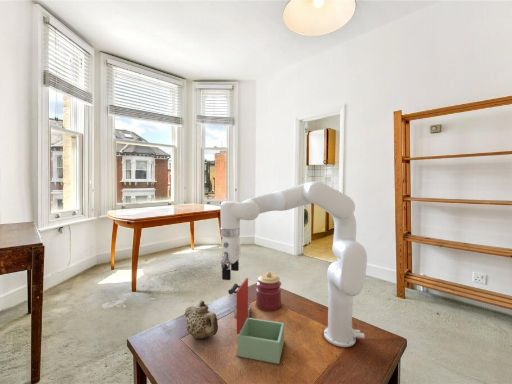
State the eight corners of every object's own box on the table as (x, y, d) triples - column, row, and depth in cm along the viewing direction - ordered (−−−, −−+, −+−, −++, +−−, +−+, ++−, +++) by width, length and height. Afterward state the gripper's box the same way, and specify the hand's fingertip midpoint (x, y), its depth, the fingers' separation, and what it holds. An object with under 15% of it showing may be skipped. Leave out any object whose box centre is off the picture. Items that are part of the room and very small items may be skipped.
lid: (248, 278, 102) (235, 276, 103) (238, 291, 90) (225, 289, 91) (248, 316, 102) (236, 314, 104) (238, 334, 90) (225, 332, 92)
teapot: (176, 331, 105) (175, 297, 105) (198, 320, 114) (198, 288, 113) (205, 355, 91) (205, 316, 90) (228, 341, 99) (229, 305, 98)
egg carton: (249, 319, 115) (249, 310, 115) (233, 318, 116) (233, 310, 115) (250, 307, 126) (250, 299, 126) (236, 307, 126) (236, 299, 126)
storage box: (283, 341, 99) (284, 323, 99) (279, 364, 87) (279, 342, 87) (246, 335, 103) (247, 317, 103) (237, 356, 91) (237, 335, 90)
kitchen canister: (285, 303, 131) (285, 270, 130) (273, 314, 120) (274, 278, 119) (264, 296, 138) (264, 266, 137) (251, 306, 127) (251, 273, 126)
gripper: (231, 237, 87) (232, 284, 88) (245, 228, 104) (246, 268, 105) (212, 236, 89) (213, 282, 90) (229, 227, 106) (229, 266, 106)
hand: (230, 274), depth 97 cm, fingers open, 9 cm apart
